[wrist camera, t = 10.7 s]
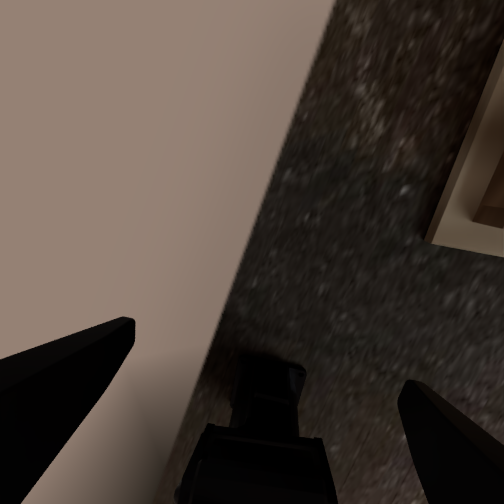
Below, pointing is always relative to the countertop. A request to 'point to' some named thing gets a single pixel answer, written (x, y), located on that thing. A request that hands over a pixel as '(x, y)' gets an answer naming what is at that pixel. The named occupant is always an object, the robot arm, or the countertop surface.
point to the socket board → (477, 179)
